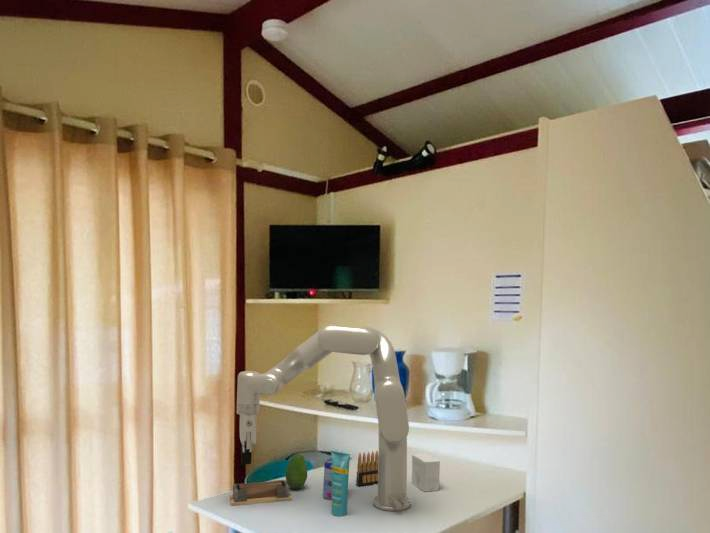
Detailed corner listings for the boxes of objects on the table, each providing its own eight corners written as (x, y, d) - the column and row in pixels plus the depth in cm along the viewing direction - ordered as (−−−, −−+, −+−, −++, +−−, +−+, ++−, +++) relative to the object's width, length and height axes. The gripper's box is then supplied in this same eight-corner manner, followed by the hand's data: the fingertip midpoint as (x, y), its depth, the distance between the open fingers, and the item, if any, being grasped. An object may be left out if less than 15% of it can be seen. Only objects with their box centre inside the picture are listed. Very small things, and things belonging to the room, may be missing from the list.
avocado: (311, 488, 194) (312, 454, 194) (293, 493, 189) (294, 458, 189) (298, 482, 200) (299, 449, 200) (280, 487, 194) (281, 453, 195)
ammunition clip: (381, 481, 202) (381, 449, 203) (384, 483, 201) (384, 450, 201) (355, 485, 198) (356, 452, 198) (358, 487, 196) (358, 453, 197)
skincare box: (440, 490, 194) (440, 460, 195) (424, 492, 192) (424, 462, 192) (426, 480, 204) (426, 452, 204) (411, 482, 202) (411, 454, 202)
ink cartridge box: (337, 501, 182) (338, 457, 183) (322, 498, 184) (323, 455, 185) (348, 491, 192) (348, 449, 193) (333, 489, 194) (334, 447, 194)
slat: (281, 496, 183) (282, 483, 184) (239, 499, 179) (240, 487, 180) (280, 492, 187) (280, 480, 187) (238, 496, 183) (239, 483, 183)
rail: (291, 500, 183) (292, 486, 183) (231, 505, 177) (231, 491, 177) (288, 492, 189) (288, 479, 190) (229, 498, 183) (230, 484, 184)
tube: (325, 513, 172) (326, 451, 173) (333, 508, 176) (334, 448, 177) (346, 518, 168) (347, 455, 169) (353, 513, 172) (354, 451, 173)
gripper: (261, 412, 177) (260, 469, 176) (256, 403, 192) (254, 456, 190) (238, 413, 175) (236, 471, 174) (234, 404, 189) (233, 457, 188)
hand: (246, 463), depth 182 cm, fingers closed
